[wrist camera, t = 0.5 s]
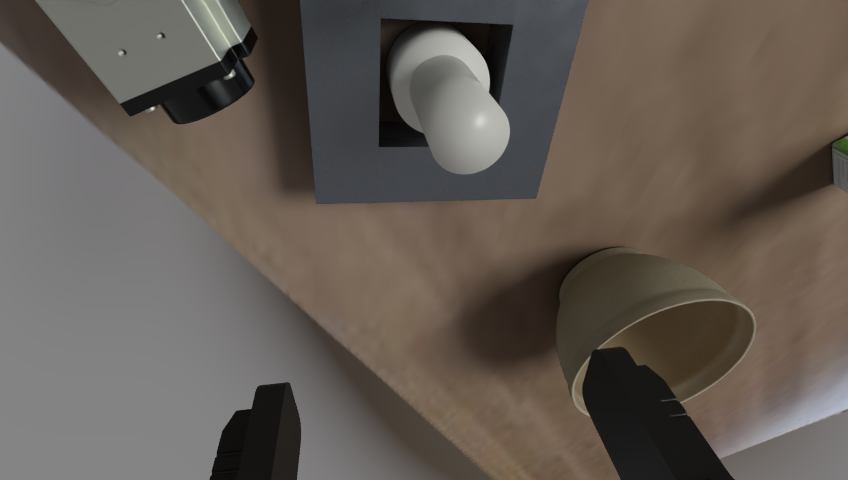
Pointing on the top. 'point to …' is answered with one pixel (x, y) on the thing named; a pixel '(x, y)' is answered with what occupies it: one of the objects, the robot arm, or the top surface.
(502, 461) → the top surface
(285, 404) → the robot arm
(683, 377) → the planter bowl
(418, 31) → the white stepped cylindrical peg
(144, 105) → the pneumatic valve
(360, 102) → the bore block
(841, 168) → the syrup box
